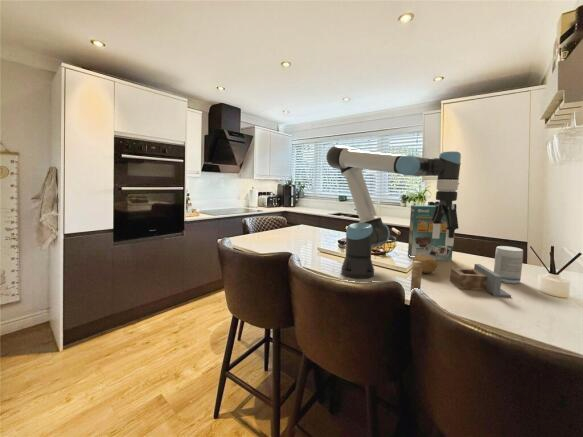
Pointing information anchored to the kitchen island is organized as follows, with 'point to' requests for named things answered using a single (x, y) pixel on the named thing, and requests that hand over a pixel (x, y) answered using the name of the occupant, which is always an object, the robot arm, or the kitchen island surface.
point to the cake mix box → (427, 234)
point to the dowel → (416, 274)
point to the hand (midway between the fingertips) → (441, 241)
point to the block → (468, 279)
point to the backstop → (492, 282)
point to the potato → (426, 263)
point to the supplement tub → (508, 263)
